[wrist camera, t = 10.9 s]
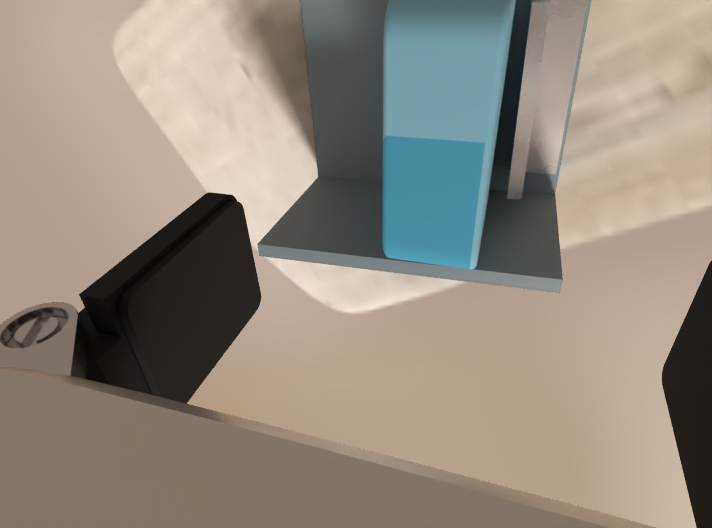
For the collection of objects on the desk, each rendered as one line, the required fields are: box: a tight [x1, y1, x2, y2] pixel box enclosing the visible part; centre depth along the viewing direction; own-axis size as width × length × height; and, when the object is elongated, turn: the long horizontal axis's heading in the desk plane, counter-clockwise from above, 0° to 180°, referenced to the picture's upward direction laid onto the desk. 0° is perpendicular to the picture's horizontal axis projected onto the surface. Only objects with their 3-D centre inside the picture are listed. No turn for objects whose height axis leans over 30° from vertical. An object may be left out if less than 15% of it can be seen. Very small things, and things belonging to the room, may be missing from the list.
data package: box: [382, 0, 516, 269], centre depth 25 cm, size 12×4×12 cm, turn 2°
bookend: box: [507, 0, 588, 200], centre depth 27 cm, size 3×10×4 cm, turn 4°
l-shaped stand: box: [257, 0, 591, 293], centre depth 27 cm, size 16×14×12 cm
